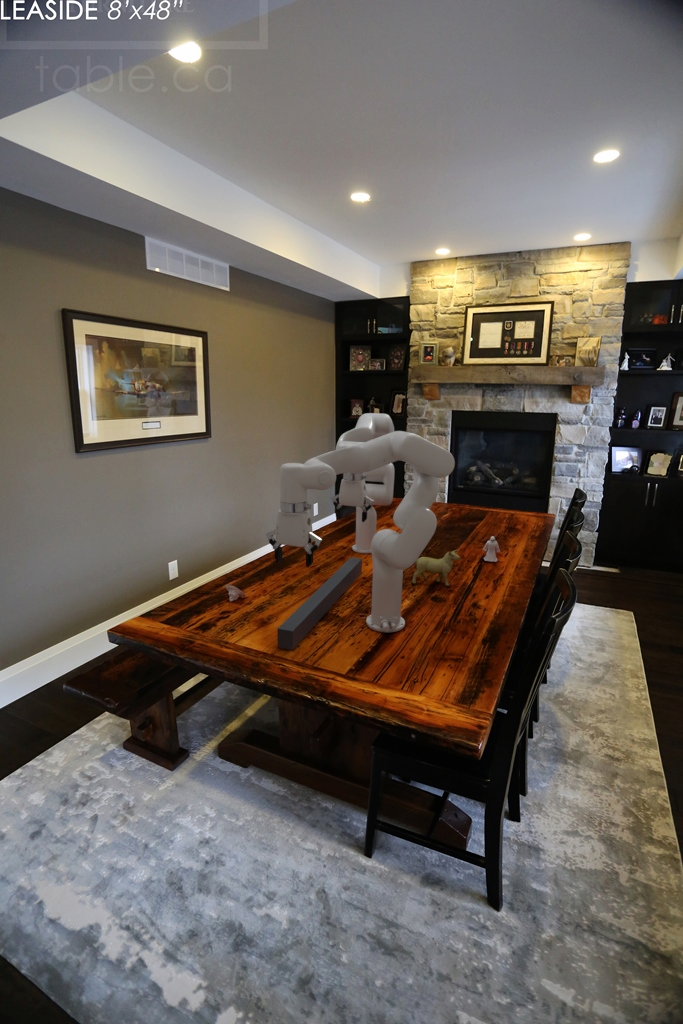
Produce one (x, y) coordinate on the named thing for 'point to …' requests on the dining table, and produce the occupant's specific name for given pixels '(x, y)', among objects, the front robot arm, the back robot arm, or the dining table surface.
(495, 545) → the figurine
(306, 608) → the post
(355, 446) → the front robot arm
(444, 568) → the toy
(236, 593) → the white irregular piece
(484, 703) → the dining table surface
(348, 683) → the dining table surface
